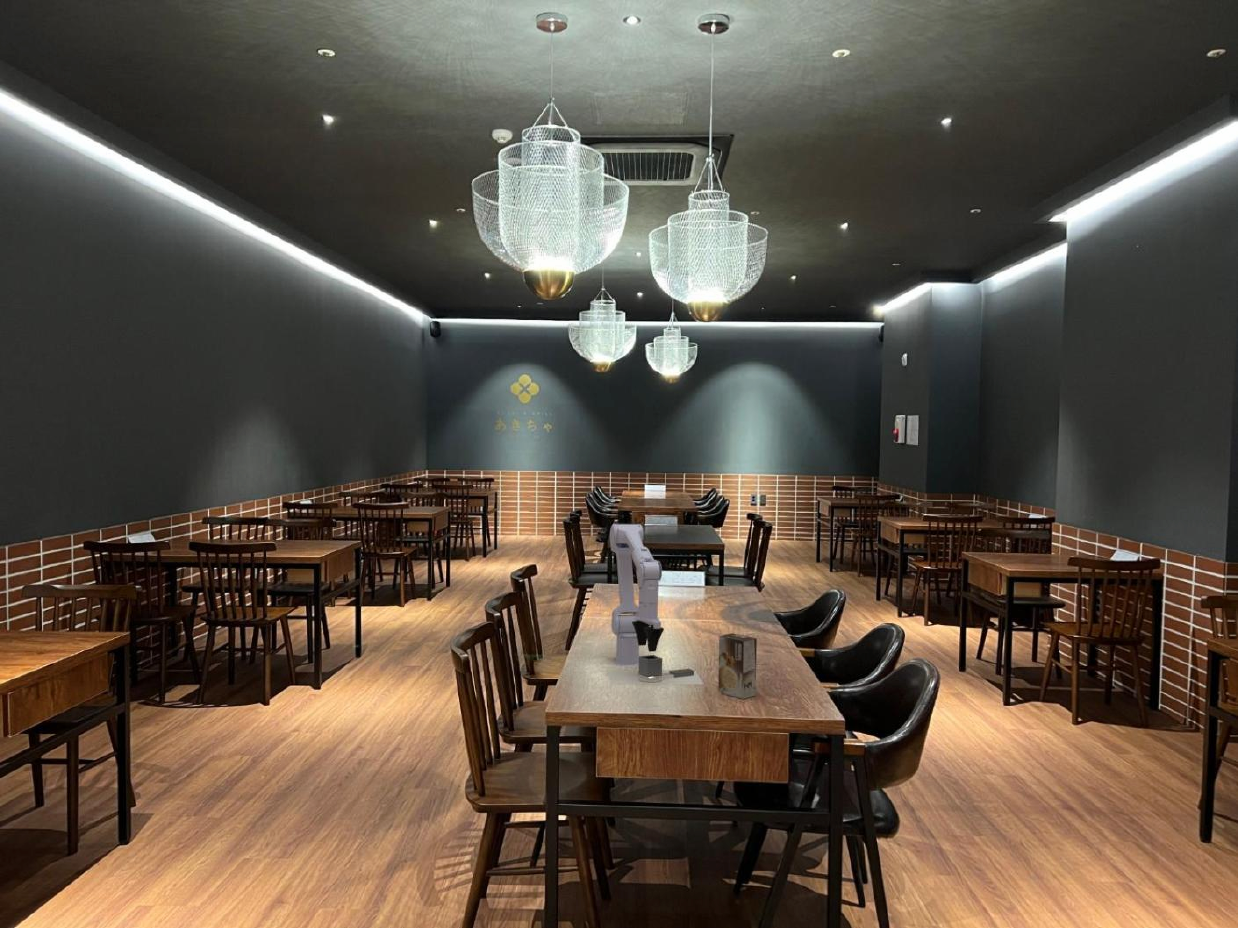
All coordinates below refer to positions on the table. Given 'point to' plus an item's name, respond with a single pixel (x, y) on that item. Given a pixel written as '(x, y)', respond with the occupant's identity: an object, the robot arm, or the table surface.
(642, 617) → the robot arm
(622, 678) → the mat
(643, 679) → the ratchet
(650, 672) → the socket
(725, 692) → the coffee box
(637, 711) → the table surface
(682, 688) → the table surface
